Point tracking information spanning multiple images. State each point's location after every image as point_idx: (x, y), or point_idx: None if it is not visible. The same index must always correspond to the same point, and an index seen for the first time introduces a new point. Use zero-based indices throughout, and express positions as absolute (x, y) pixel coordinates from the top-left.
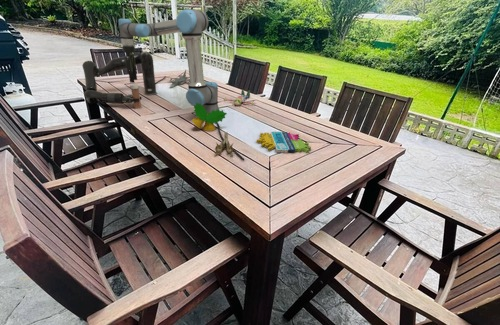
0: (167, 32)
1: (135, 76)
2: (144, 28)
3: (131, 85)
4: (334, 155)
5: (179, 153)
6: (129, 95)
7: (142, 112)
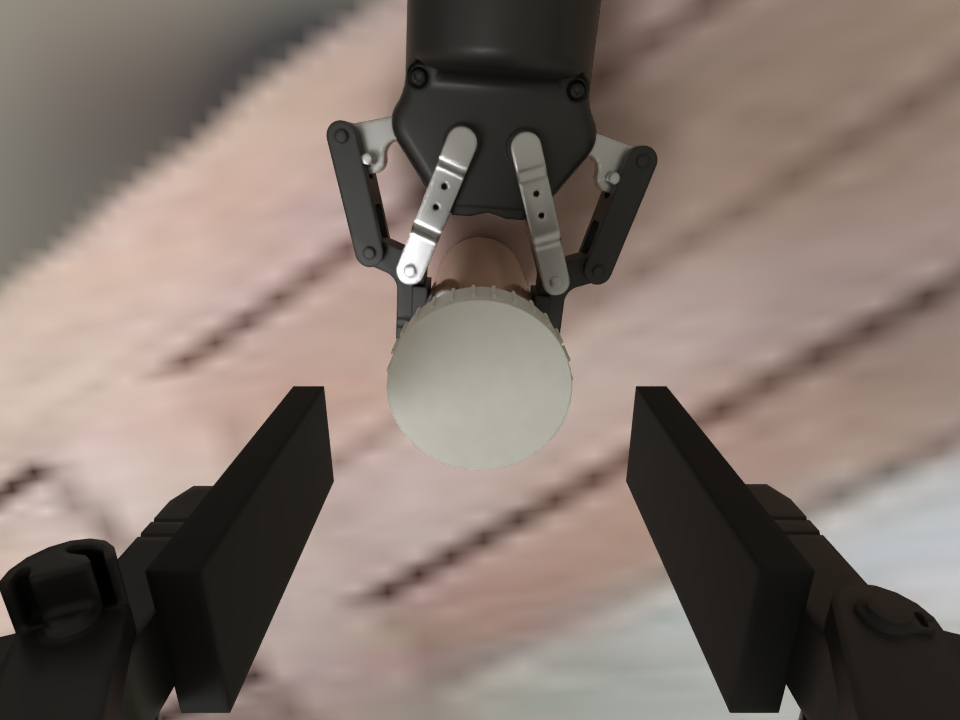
0: None
1: (657, 512)
2: None
3: (454, 334)
4: None
5: None
6: (607, 177)
7: (295, 367)
